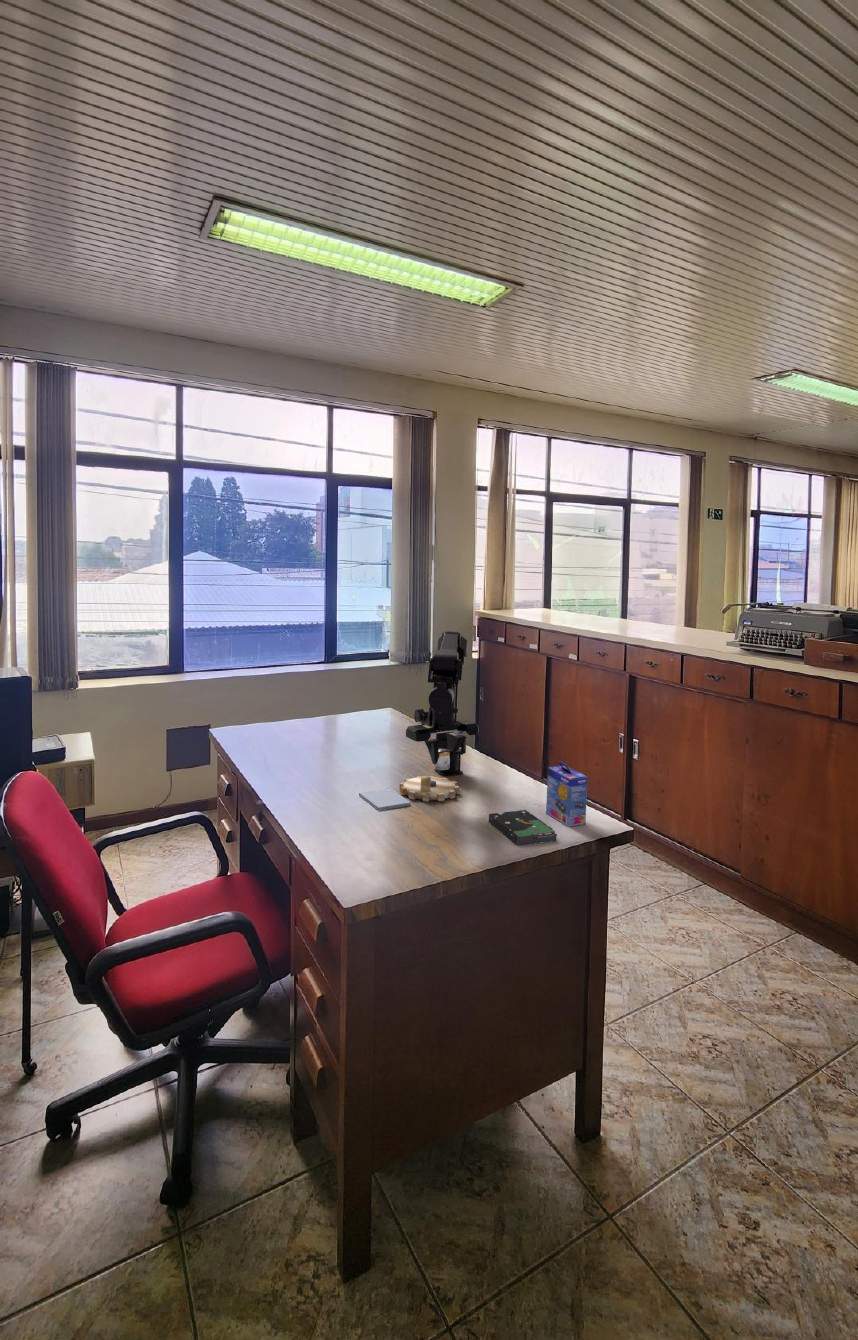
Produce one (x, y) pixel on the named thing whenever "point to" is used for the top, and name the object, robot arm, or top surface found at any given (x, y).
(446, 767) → the small glass jar
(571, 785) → the ink cartridge box
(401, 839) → the top surface
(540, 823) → the disk drive
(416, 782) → the sprocket wheel
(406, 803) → the slate pad
